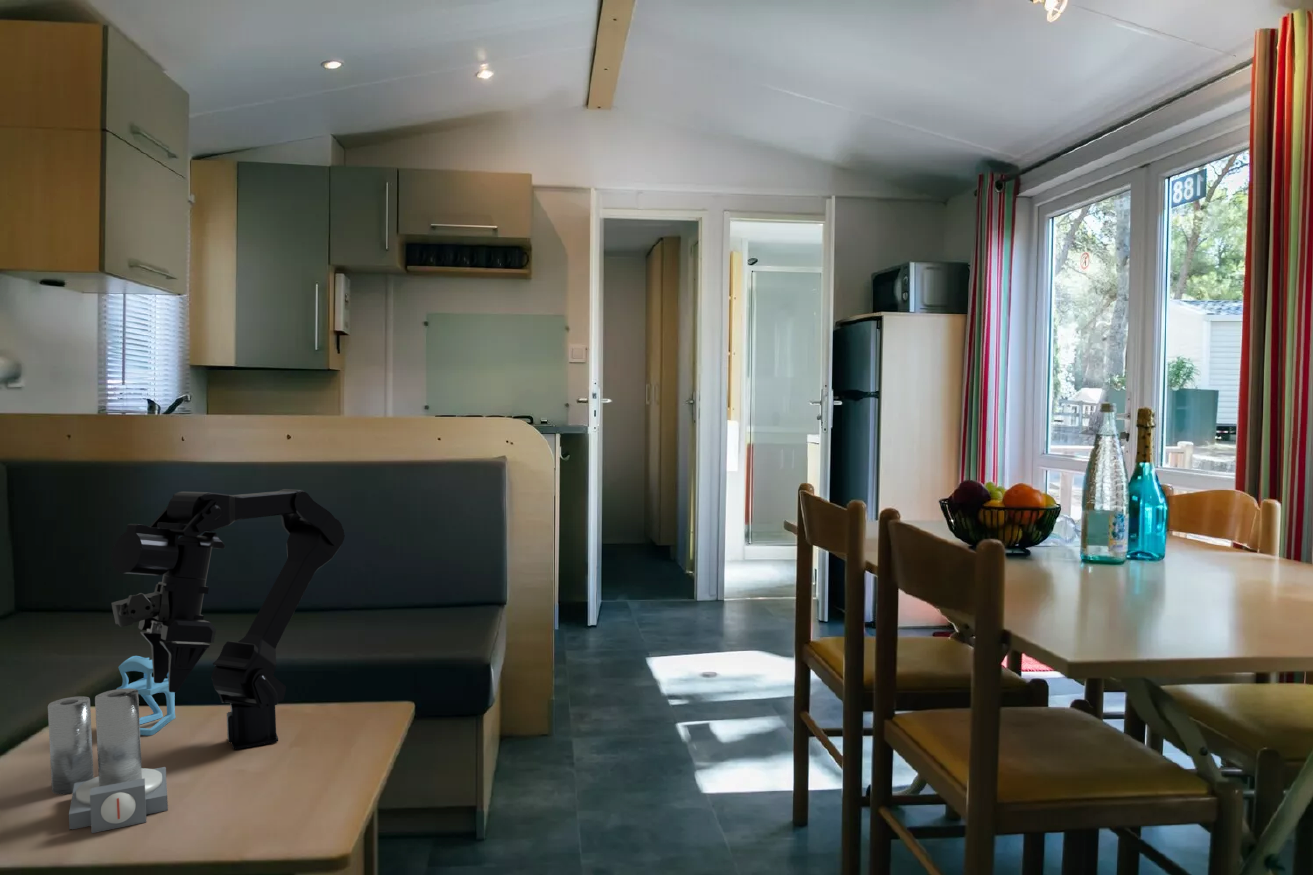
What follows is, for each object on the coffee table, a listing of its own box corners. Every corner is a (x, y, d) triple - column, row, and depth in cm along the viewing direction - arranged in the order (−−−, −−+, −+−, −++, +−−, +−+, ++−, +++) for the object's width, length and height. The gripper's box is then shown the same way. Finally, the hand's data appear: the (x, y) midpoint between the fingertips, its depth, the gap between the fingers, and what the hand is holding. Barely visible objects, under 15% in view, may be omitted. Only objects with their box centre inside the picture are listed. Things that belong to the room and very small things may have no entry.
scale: (166, 780, 134) (164, 747, 133) (168, 818, 121) (166, 782, 121) (75, 797, 128) (73, 762, 128) (67, 839, 116) (66, 801, 116)
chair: (187, 718, 160) (185, 648, 159) (150, 735, 151) (148, 661, 151) (148, 716, 161) (146, 646, 161) (110, 732, 153) (107, 659, 153)
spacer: (94, 776, 135) (90, 693, 135) (93, 789, 131) (89, 703, 130) (53, 783, 133) (49, 700, 132) (50, 797, 129) (46, 710, 128)
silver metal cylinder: (149, 774, 128) (145, 687, 128) (128, 790, 124) (124, 699, 123) (113, 775, 129) (109, 688, 128) (90, 790, 124) (86, 700, 123)
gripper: (110, 569, 139) (90, 677, 137) (137, 575, 125) (114, 696, 122) (191, 575, 146) (173, 678, 144) (225, 582, 132) (205, 697, 129)
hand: (165, 687), depth 135 cm, fingers open, 9 cm apart
